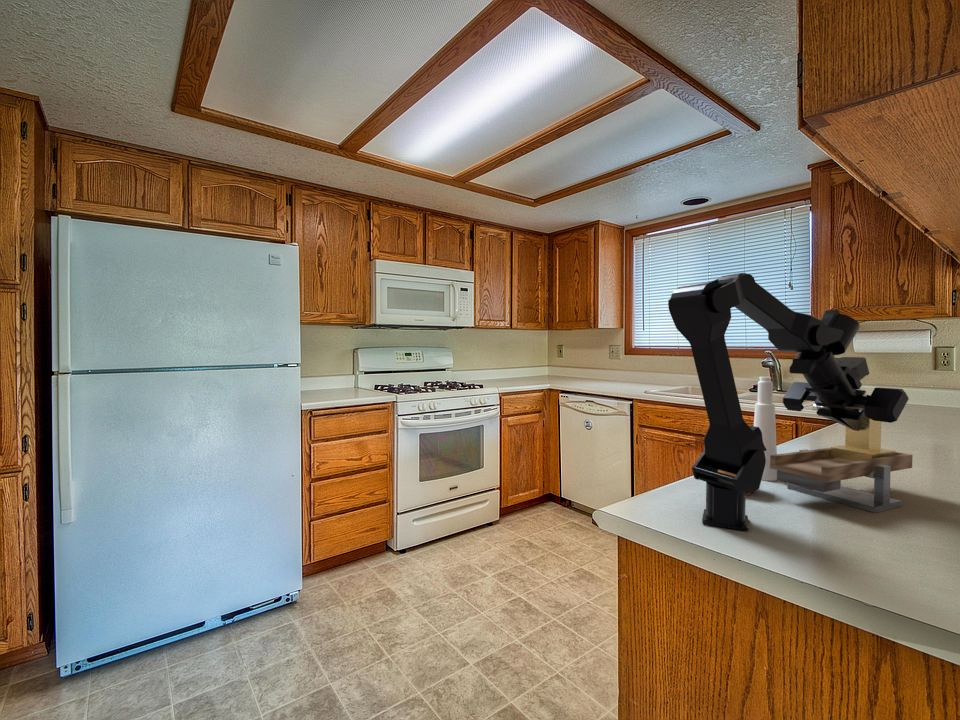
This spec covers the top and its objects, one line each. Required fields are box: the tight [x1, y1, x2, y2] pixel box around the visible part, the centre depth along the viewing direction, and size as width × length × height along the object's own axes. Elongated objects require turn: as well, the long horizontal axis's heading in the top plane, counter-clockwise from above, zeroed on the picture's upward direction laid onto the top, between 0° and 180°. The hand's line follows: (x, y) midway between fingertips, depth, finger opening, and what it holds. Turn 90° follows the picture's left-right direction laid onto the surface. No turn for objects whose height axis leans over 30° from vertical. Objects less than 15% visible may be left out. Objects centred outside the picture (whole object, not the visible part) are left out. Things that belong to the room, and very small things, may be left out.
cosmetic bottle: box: [753, 376, 778, 482], centre depth 101 cm, size 6×6×22 cm
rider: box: [830, 413, 897, 462], centre depth 91 cm, size 8×7×10 cm
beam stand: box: [787, 449, 902, 514], centre depth 88 cm, size 8×15×8 cm, turn 23°
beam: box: [770, 447, 913, 492], centre depth 88 cm, size 26×11×4 cm, turn 113°
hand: (857, 428), depth 90 cm, fingers closed
